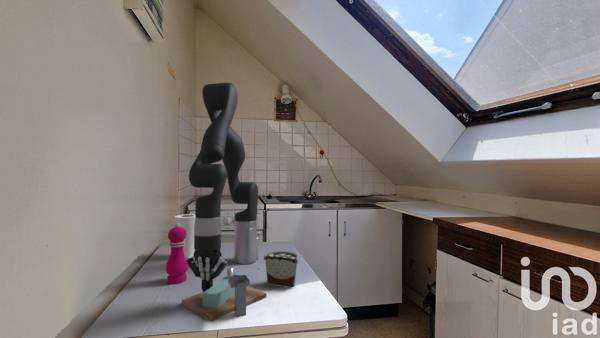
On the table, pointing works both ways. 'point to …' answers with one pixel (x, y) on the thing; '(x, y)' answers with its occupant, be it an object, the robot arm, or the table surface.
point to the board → (225, 308)
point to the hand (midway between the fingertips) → (207, 291)
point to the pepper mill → (177, 256)
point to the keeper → (239, 292)
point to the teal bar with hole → (218, 293)
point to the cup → (188, 224)
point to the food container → (281, 268)
